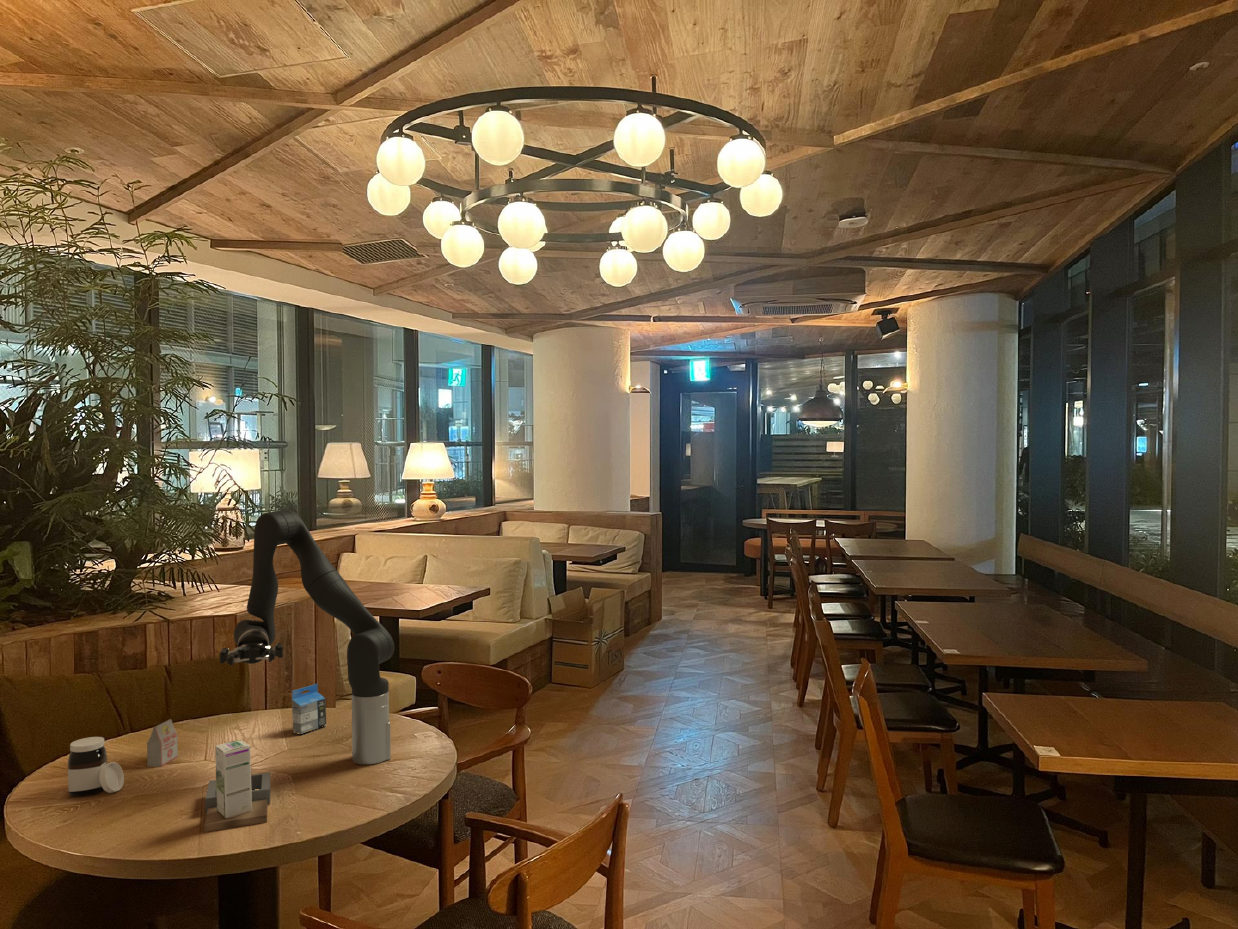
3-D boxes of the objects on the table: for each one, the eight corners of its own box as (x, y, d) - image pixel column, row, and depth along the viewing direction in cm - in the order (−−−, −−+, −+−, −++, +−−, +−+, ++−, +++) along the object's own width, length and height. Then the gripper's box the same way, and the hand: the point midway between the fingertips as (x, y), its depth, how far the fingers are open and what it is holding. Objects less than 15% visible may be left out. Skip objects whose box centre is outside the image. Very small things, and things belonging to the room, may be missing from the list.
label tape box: (301, 736, 231) (300, 692, 231) (291, 733, 233) (291, 690, 233) (326, 727, 238) (326, 685, 238) (317, 724, 240) (317, 683, 240)
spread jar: (71, 786, 196) (70, 738, 196) (126, 777, 201) (125, 730, 201) (64, 805, 185) (63, 753, 185) (122, 795, 190) (121, 745, 190)
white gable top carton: (147, 766, 208) (146, 727, 208) (164, 757, 215) (163, 719, 215) (161, 766, 208) (160, 727, 208) (177, 757, 215) (177, 719, 215)
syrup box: (252, 811, 177) (252, 744, 177) (224, 819, 173) (223, 751, 173) (243, 803, 181) (242, 738, 181) (215, 811, 177) (214, 745, 177)
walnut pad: (267, 805, 183) (267, 799, 183) (266, 822, 175) (266, 815, 175) (207, 815, 179) (207, 808, 179) (204, 832, 171) (204, 825, 171)
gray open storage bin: (270, 786, 194) (270, 772, 194) (269, 804, 184) (269, 789, 184) (209, 795, 189) (209, 780, 189) (205, 814, 179) (205, 798, 179)
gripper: (222, 633, 208) (218, 646, 193) (282, 628, 214) (283, 641, 199) (222, 663, 208) (218, 678, 193) (283, 657, 214) (283, 671, 199)
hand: (251, 659), depth 196 cm, fingers open, 8 cm apart
